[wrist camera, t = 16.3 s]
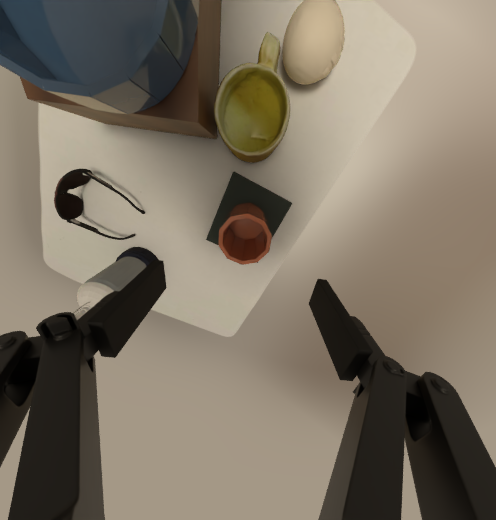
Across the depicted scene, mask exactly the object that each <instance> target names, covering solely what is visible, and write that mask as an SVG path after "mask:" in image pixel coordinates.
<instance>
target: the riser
mask: <svg viewBox="0 0 496 520" xmlns="http://www.w3.org/2000/svg"><path fill="white" fill-rule="evenodd" d="M220 25H221V0H199V16H198V24H197V32H196V37H195V41H194V45H193V50H192V53H191V55H190V58H189V61H188V64H187V66H186V68H185V70H184V73H183V75H182V77H181V78H180V80H179V81H178V83H177V84H176V86H175V87H174V89H173V90H172V91H171V92H170V93H169V94H168V95H167V96H166V97H165V98H164V99H163V100H162V101H160V102H159V103H158V104H156V105H155V106H153V107H151V108H149V109H147V110H144V111H140V112H137V113H132V114H119V113H111V112H106V111H100V110H94V109H91V108H89V107H86V106H84V105H81V104H78V103H76V102H73V101H71V100H68V99H65V98H63V97H60V96H58V95H55V94H53V93H50V92H47V91H45V90H42V89H41V88H39V87H37V86H36V85H34V84H32V83H30V82H29V81H27V80H25V79H24V78H22V77H20V79H21V81H22V84H23V87H24V90H25V93H26V96H27V98H28V99H30V100H33V101H36V102H39V103H42V104H46V105H49V106H52V107H55V108H58V109H61V110H64V111H67V112H70V113H74V114H77V115H80V116H83V117H86V118H89V119H92V120H95V121H98V122H102V123H105V124H111V125H118V126H125V127H133V128H140V129H147V130H154V131H161V132H169V133H176V134H183V135H190V136H197V137H205V138H212V139H217V124H216V120H215V115H214V103H215V98H216V94H217V91H218V87H219V56H220Z"/></svg>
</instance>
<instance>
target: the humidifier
mask: <svg viewBox="0 0 496 520" xmlns="http://www.w3.org/2000/svg"><path fill="white" fill-rule="evenodd" d="M153 260H158V259H157V257H156V256H155V255H154V254H153V253H152V252H151V251H149V250H147V249H145V248H141V247H133V248H130V249H128V250H126V251H125V252H123V253H122V254H121V255H120V256H119V257H118V258H117V260H116V262H115V263H113V264H112V265H110V266H109V267H107V268H106V269H104V270H103V271H101V272H100V273H98V274H97V275H95V276H94V277H92V278H90V279H89V280H87V281H86V282H85V283H84V284H83V285H82V286H81V287H80V288H79V290H78V293H77V300H78V304H79V306H80V308H81V309H80V308H79V309H80V312H78V313H77V314H76V315H75V317H76V319H77V320H78V319H79V318H80V317H81V316H83V315H84V314H85V313H86V312H87V311H88V310H90V309H91V308H92V307H94V305H95V304H97V303H98V302H100V300H101V299H102V298H104V297H105V296H106V295H108V294H110V293H111V292H113V291H121V290H122V289H123V288H124V287H125V286H126V285H127V284H128V283H129V282H130V281H131V280H133V279H134V278H135V277H136V276H137V275H138V274H139V273H140V272H141V271H142V270H143V269H145V268H146V267H147V266H148V265H149V264H150V263H151V262H152V261H153ZM77 311H78V309H77ZM75 312H76V311H75ZM75 312H74V313H75ZM74 313H73V314H74Z"/></svg>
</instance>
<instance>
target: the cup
mask: <svg viewBox="0 0 496 520" xmlns="http://www.w3.org/2000/svg"><path fill="white" fill-rule="evenodd" d="M271 239H272V235H271V231H270V228H269V224H268V221H267V218H266V216H265V214H264V212H263V211H262V209H261V208H260V207H258V206H257V205H255V204H252V203H242V204H239V205H236V206H235V207H234V208H233V209H232V210H231V212H230V213H229V214H228V215H227V217H226V219H225V220H224V222H223V224H222V226H221V227H220V230H219V247H220V248H221V250H222V251H223V253H224V254H225V256H226V257H227V258H228V259H230V260H232V261H234V262H237V263H239V264H242V265H243V264H249V263H255V262H258V261H259V260H260V259H261V258H262V257H264V256H265V255H266V254H267V253H268V252H269V249H270V244H271Z"/></svg>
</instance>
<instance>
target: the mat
mask: <svg viewBox="0 0 496 520" xmlns="http://www.w3.org/2000/svg"><path fill="white" fill-rule="evenodd" d="M242 203H252V204H255V205H257V206H258V207H260V208H261V209H262V211H263V212H264V214H265V216H266V218H267V221H268V224H269V228H270V231H271V235H272V237H273V235H274V234H275V232H276V230H277V229H278V227H279V225H280V223H281V222H282V220H283V218H284V217H285V215H286V213H287V212H288V210H289V208H290V206H291V205H292V203H291V202H289V201H287V200H285V199H283V198H282V197H280V196H278V195H276V194H274V193H272V192H271V191H269V190H267V189H265V188H263V187H261V186H259V185H258V184H256V183H254V182H252V181H250V180H248V179H246V178H245V177H243V176H241V175H239V174H237V173H235V172H233V174H232V177H231V179H230V182H229V184H228V187H227V189H226V191H225V194H224V196H223V199H222V201H221V204H220V206H219V209H218V211H217V214H216V216H215V219H214V221H213V224H212V226H211V229H210V231H209V234H208V236H207V239H206V240H208V241H210V242H213V243H215V244H217V245H219V230H220V227H221V226H222V224H223V222H224V220H225V219H226V217H227V215H228V214H229V213H230V212H231V210H232V209H233V208H234V207H235V206H236V205H239V204H242ZM257 263H258V262H257Z"/></svg>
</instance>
